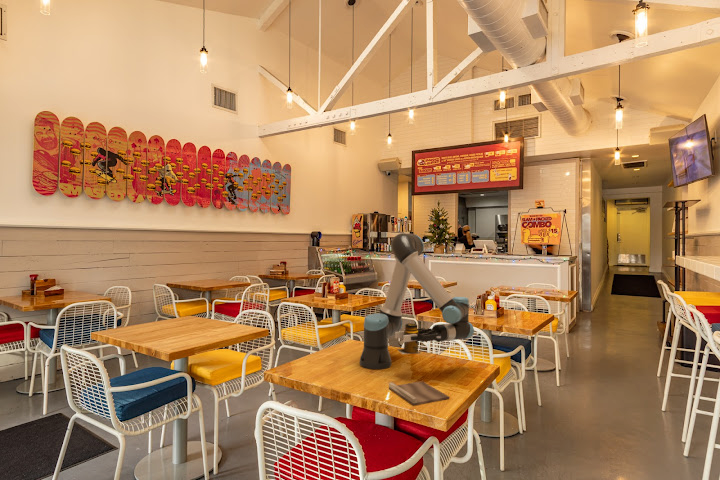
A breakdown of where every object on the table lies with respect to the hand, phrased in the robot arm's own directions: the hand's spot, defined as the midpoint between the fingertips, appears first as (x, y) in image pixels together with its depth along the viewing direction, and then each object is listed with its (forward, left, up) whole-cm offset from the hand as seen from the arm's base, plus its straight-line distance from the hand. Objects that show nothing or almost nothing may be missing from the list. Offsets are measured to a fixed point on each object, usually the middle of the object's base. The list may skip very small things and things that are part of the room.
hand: (399, 336), depth 170 cm
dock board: (+12, -13, -18) cm, 25 cm away
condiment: (+3, +4, -7) cm, 9 cm away
